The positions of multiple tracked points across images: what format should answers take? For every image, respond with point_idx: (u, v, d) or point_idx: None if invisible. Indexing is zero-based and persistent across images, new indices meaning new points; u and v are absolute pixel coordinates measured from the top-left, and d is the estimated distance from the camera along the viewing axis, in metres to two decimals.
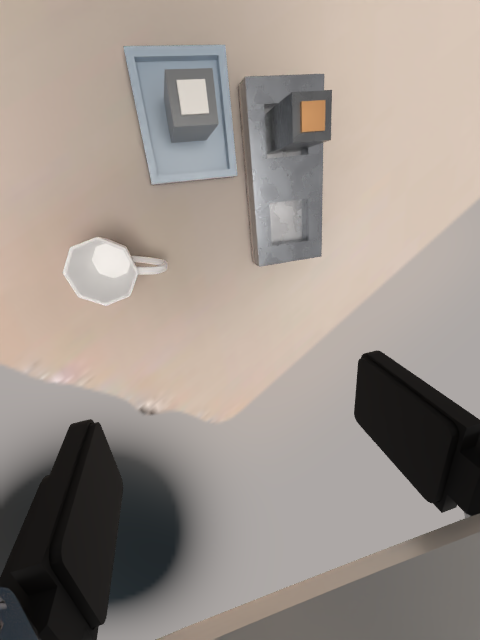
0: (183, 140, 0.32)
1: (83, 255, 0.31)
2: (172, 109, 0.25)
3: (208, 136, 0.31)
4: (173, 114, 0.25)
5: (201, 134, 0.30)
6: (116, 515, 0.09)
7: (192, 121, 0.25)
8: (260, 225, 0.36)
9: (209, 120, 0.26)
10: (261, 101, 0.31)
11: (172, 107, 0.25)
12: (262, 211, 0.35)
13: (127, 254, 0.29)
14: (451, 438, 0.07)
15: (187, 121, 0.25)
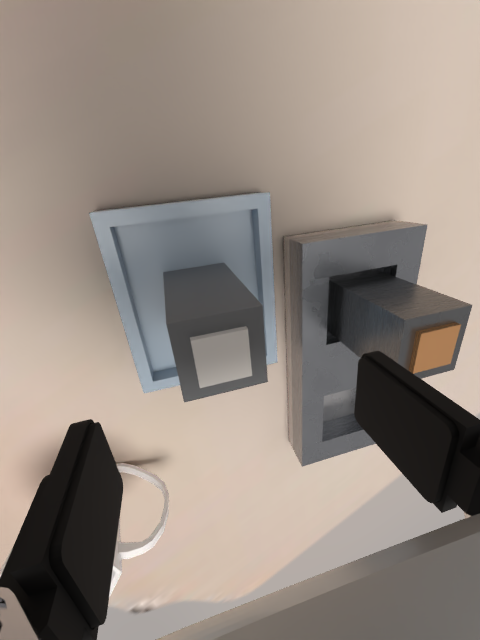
0: None
1: None
2: (181, 379, 0.12)
3: None
4: (183, 385, 0.13)
5: None
6: (116, 515, 0.09)
7: (219, 388, 0.13)
8: (308, 423, 0.24)
9: (251, 380, 0.13)
10: (325, 274, 0.19)
11: (181, 376, 0.12)
12: (312, 407, 0.23)
13: None
14: (451, 438, 0.07)
15: (210, 389, 0.13)
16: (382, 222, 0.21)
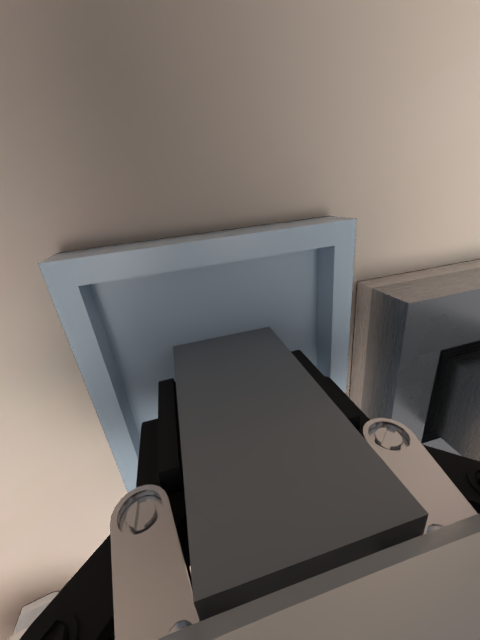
0: None
1: None
2: None
3: None
4: None
5: None
6: None
7: None
8: None
9: None
10: (435, 346, 0.11)
11: None
12: None
13: None
14: None
15: None
16: None
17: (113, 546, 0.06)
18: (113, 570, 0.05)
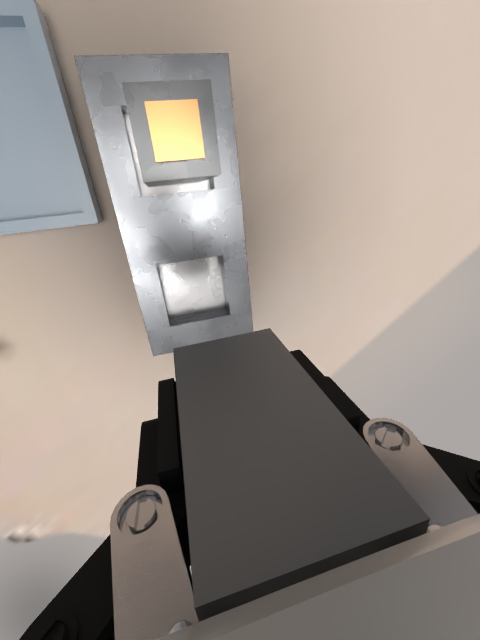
0: None
1: None
2: None
3: None
4: None
5: None
6: None
7: None
8: (145, 298, 0.23)
9: None
10: (114, 101, 0.18)
11: None
12: (145, 278, 0.22)
13: None
14: None
15: None
16: None
17: (113, 546, 0.06)
18: (113, 570, 0.05)
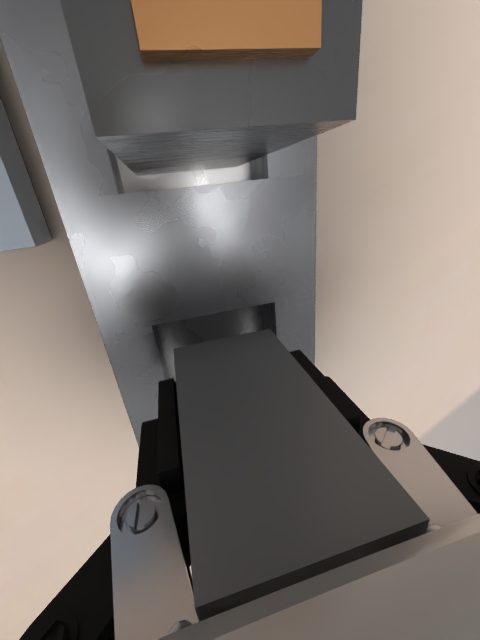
0: None
1: None
2: None
3: None
4: None
5: None
6: None
7: None
8: (132, 383, 0.12)
9: None
10: None
11: None
12: (131, 349, 0.12)
13: None
14: None
15: None
16: None
17: (113, 546, 0.06)
18: (113, 570, 0.05)
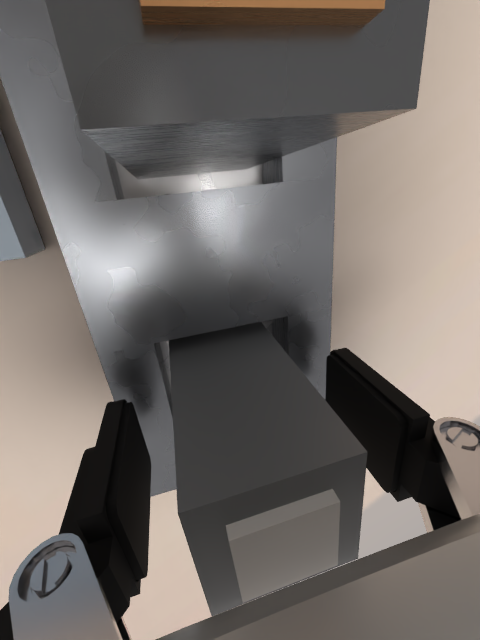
0: None
1: None
2: (207, 587, 0.06)
3: None
4: (211, 595, 0.07)
5: None
6: (148, 487, 0.09)
7: None
8: None
9: None
10: None
11: (208, 583, 0.06)
12: (130, 369, 0.11)
13: None
14: (400, 429, 0.07)
15: None
16: None
17: (15, 622, 0.05)
18: None
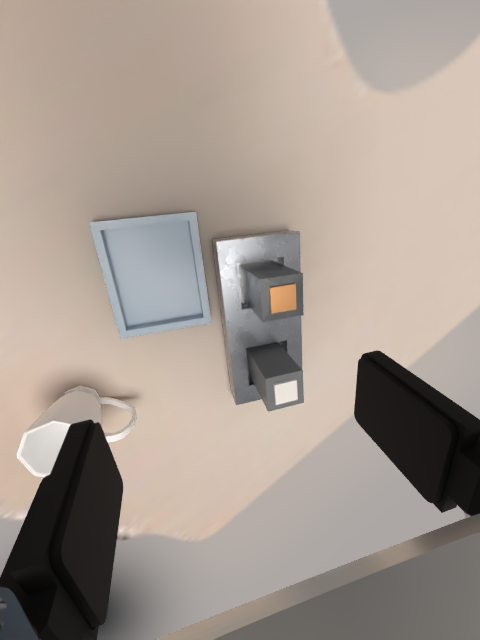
0: None
1: None
2: (268, 401, 0.30)
3: None
4: (268, 404, 0.30)
5: None
6: (116, 515, 0.09)
7: (283, 405, 0.30)
8: (236, 368, 0.34)
9: (296, 401, 0.30)
10: (234, 261, 0.30)
11: (268, 400, 0.29)
12: (237, 356, 0.34)
13: None
14: (451, 438, 0.07)
15: (279, 406, 0.30)
16: (279, 231, 0.33)
17: None
18: None
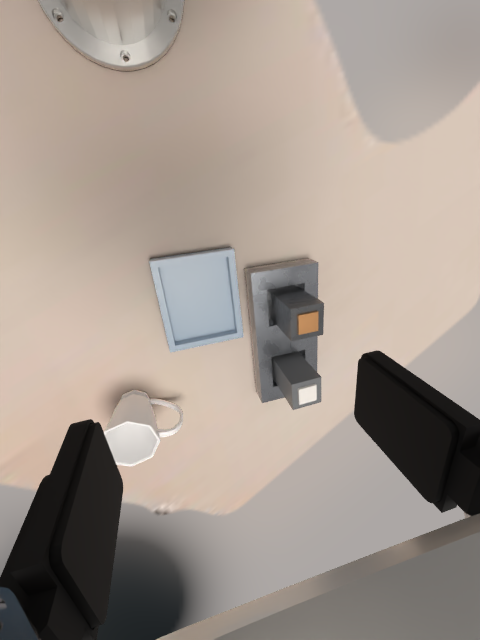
0: None
1: None
2: (293, 401, 0.37)
3: None
4: (293, 404, 0.37)
5: None
6: (116, 515, 0.09)
7: (304, 404, 0.37)
8: (263, 373, 0.41)
9: (315, 401, 0.38)
10: (264, 288, 0.36)
11: (293, 401, 0.37)
12: (264, 363, 0.41)
13: (151, 429, 0.34)
14: (451, 438, 0.07)
15: (301, 405, 0.37)
16: (300, 259, 0.39)
17: None
18: None
